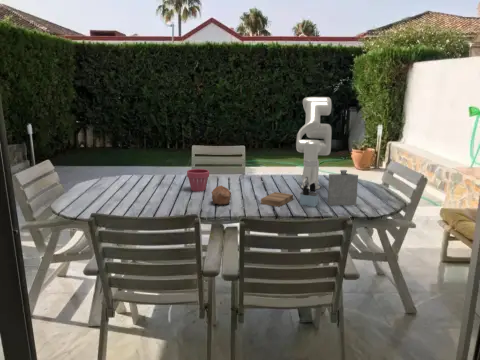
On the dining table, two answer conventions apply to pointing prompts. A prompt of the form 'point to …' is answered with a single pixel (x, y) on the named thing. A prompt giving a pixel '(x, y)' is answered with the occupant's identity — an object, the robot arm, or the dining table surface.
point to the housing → (309, 199)
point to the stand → (277, 199)
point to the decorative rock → (221, 195)
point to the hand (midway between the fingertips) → (309, 193)
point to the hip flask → (342, 188)
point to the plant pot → (198, 179)
